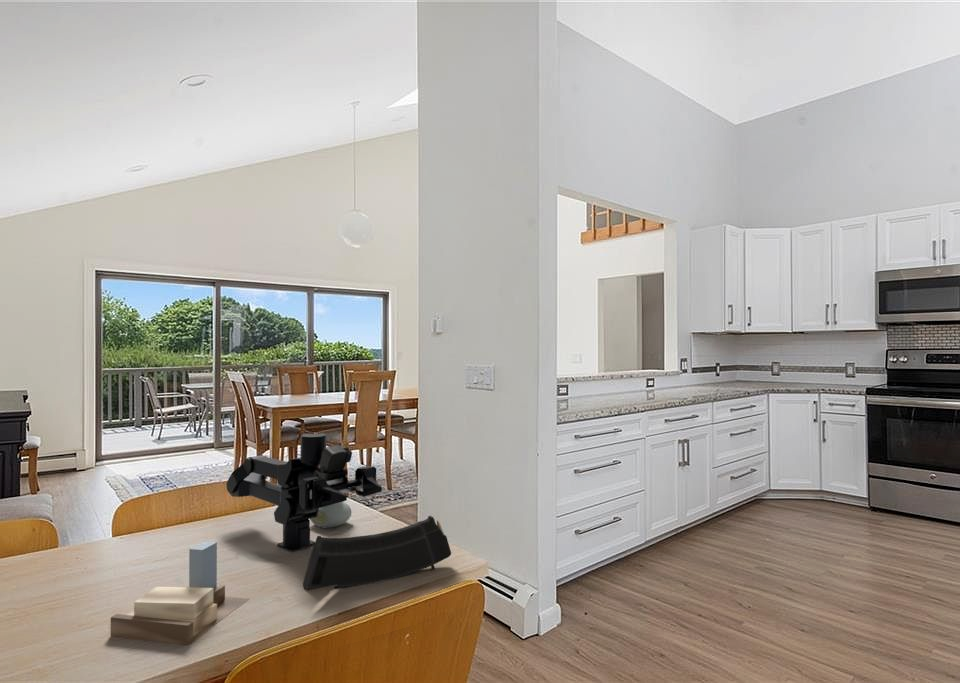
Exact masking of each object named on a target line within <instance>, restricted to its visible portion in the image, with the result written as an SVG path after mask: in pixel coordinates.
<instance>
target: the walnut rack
mask: <svg viewBox="0 0 960 683" xmlns="http://www.w3.org/2000/svg"><path fill="white" fill-rule="evenodd" d="M249 600H250V598H247V597H246V598H245V597H235V596H226V586H225V584H224V585H223V584H219V585H217V587H216V588H215V589H213V604H217V619H216V620H214V621H213V622H212V623H210V624H209V625H208V626H206V627H205V628H204V629H202V630H201V631H199V632H198V633H197V634H195V635H194V636H193V622H190V621H181V620H171V619H161V618H152V617H142V616H132V615H127V614H121V613H116V614H114V615H113V616H112V615H111V617H110V637H113V638H122V639H131V640H139V641H140V640H141V641H150V642H155V643H156V642H157V643H167V644H175V645H183V646H188V645H191V643H193V642H194V641H196V640H197V639H198V638H200V637H201V636H202V635H203V634H205V633H206V632H208V631H209V630H210V629H212V628H213V627H215V625H217V624H218V623H220V622H221V621H222V620H223V619H225V618H226V617H228V616H229V615H230V614H232V613H233V612H234V611H236V610H237V609H238V608H240V607H241V606H242V605H244V604H245V603H246V602H247V601H249Z"/></svg>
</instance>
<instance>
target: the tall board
mask: <svg viewBox="0 0 960 683" xmlns="http://www.w3.org/2000/svg"><path fill="white" fill-rule="evenodd" d="M188 551H189V553H188V554H189V557H188V560H189V563H188V564H189V565H188V567H189V569H188V570H189V571H188V575H189V576H188V583H189V584H188V587H195V588H213V589H215V588H216V587H218V583H217V580H218V579H217V578H218V574H217V573H218V572H217V571H218V567H217V566H218V565H217V564H218V562H217V561H218V560H217V559H218V556H217V555H218V542H217V541H216V542H215V541H206V540H205V541H203V542H200V543H198V544H196V545H194V546H193V547H191V548H189V550H188Z"/></svg>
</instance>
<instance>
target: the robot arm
mask: <svg viewBox="0 0 960 683" xmlns="http://www.w3.org/2000/svg"><path fill="white" fill-rule="evenodd" d="M352 456H353V451H352V450H351V449H350V448H349V446H344V445H342V446H341V445H339V444H338V445H332V446H327V433H321V432H320V433H303V434H300V457H294V458H290V459H289V460H288V461H285V460H280V459H277V458H271V457H269V456H267V455H263V454H261V455H254V456H249V457H248V458H246V459H245V460H244V462H243V463H242V464H241V465H240V466H238V467H237V468H236V469H235V470H233V471H232V472H231V474H230V475H229V478H228V479H227V481H226V491H227V492H228V493H229V495H230V496H232V498H240V497H241V498H243V497H253V498H256V499H258V500H261V501H264V502H267V503H270V504H272V505H275V506H277V507H276V509H275V510H274V512H273V517H274V522H275V523H278V524H280V525H282V541H281V542H278V543H276V546H277V547H278V548H281V549H283V550H284V549H285V550H286V551H290V552H297V551H298V550H303V549H305V548H308V547H313V546H314V544H315V542H316V541H313V540H311V526H310V525H311V520H310V518H315V517H317V514H318V510H319V508H321V507H325V506H329V505H332V504H336V503H340V502H346V501H347V499H348V496H347V494H348V493H353V492H355V493H356V495H357V496H359V497H363V498H364V497H365V498H366V497H368V496H372V495H375V494H379V493H381V492H383V491H382V485H380V484H379V483H378V482H377V468H376V467H375V466H372V465H366V466H362V467H357V468H356V469H355V471H354V472H355V473H354V479H352V480H349V479H348V477H347V476H348V474H349V473H348V468H345V467H346V464H347V463H350V462H351V460H352ZM267 478H271V479H275V480H276V481H277V483H275V482H272V481H269V480H267Z"/></svg>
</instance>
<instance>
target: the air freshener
mask: <svg viewBox="0 0 960 683" xmlns="http://www.w3.org/2000/svg"><path fill="white" fill-rule="evenodd" d="M352 513H353V512H352V508H351V506H350V505H349V504H348V503H346V501H343V502H340V503H336V504H332V505H329V506H325V507H321V508H319V510H318V514H317V517H315V518H310V519H309V520H310V522H311V523H312V524H313V525H315V526H317V527H319V528H321V529H331V528H336V527H339V526H342V525H343V524H345V523H347V522H348V521H349V520H350V518H351V516H352Z"/></svg>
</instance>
